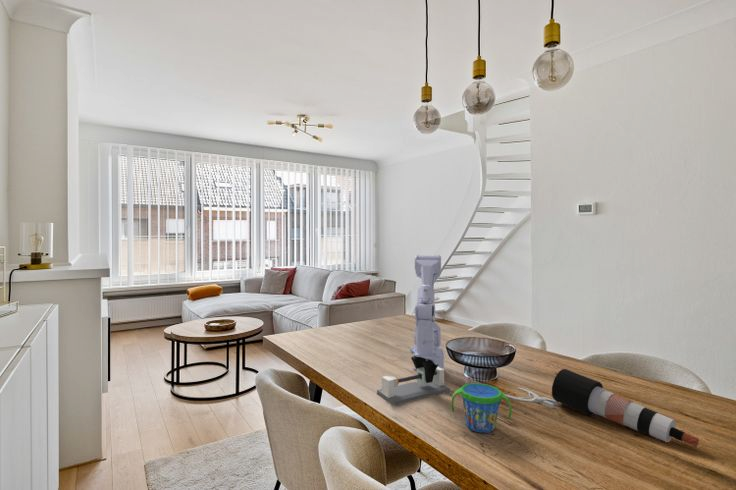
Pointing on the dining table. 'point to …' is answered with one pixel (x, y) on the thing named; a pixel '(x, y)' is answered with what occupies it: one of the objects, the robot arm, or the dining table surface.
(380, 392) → the cord rig
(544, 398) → the pliers
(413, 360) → the robot arm
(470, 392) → the snack cup
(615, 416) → the cable
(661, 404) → the dining table surface
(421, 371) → the marker sleeve
